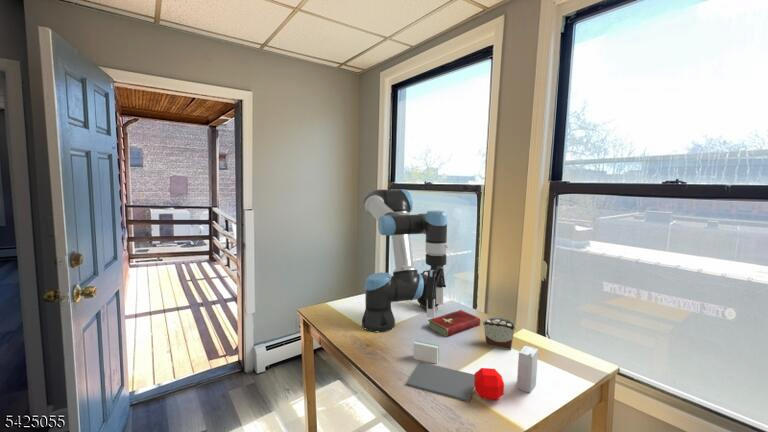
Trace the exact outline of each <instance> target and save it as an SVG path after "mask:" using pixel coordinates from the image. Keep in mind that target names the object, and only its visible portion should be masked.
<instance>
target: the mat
mask: <svg viewBox="0 0 768 432" xmlns="http://www.w3.org/2000/svg"><path fill="white" fill-rule="evenodd" d="M416 366H417V367H416V368H415V370H413V372H412V374H411V375H410V377H409V379H407V381H406V384H405V385H406V386H409V387H411V388H412V387H414V388H416V389H419V390H424V391H427V392H431V393H435V394H438V395H442V396H446V397H449V398H453V399H457V400H460V401H465V402H469V403H470V401H471V400H472V396H473V393H474V389H475V385H474V377H475V373H470V372H466V371H461V370H457V369H453V368H448V367H444V366H441V365H440V366H439V365H437V364H436V365H435V364H432V363H431V364H430V363H428V362H427V363H426V362H422V361H420V362H419V364H418V365H416Z"/></svg>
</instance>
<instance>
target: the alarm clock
mask: <svg viewBox="0 0 768 432" xmlns="http://www.w3.org/2000/svg"><path fill="white" fill-rule="evenodd" d="M425 273H428V270H423V271H422V272H420V273H419V274H421V275H422V278H423V281H424V288H423V293H422V296H421V297H420V298H419V299H416V300H417V302H418V303H419V308H421V307H422V308H423V309H426V310H427V299H424V297H425V293H426V285H427V277H428V274H425ZM436 287H437V284H436ZM429 296H430V295H429ZM434 299H435V308H436V310H439V308H438V306H440V304H436V290H435V296H434Z"/></svg>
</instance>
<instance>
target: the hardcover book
mask: <svg viewBox="0 0 768 432" xmlns="http://www.w3.org/2000/svg"><path fill="white" fill-rule="evenodd" d="M427 321H428V322H429V325H428V327H429V329H431V330H433V331H435V332H437V333H439V334H441V335H443V336H445V337H446V338H449V337H451V336H455V335H457V334H459V333H460V334H461V333H462V332H466V331H468V330H471V329H474V328H477V327H480V326H481V323H482V321H481V317H479V316H476V315H475V314H472V313H469V312H467V311H466V310H465V311H464V310H462V309H460V310H457V311H454V312H453V311H452V312H450V313H446V314H442V315H439V316H435V318H430V319H427Z"/></svg>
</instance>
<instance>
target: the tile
mask: <svg viewBox="0 0 768 432" xmlns="http://www.w3.org/2000/svg"><path fill="white" fill-rule="evenodd" d="M413 359H415V360H419V361H424V362H427V363H431V364H432V363H433V364H436V365H437V364H438V363H439V362H440V345H439V344H436V343H431V342H430V343H429V342H426V341H420V340H415V341H413Z"/></svg>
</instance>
